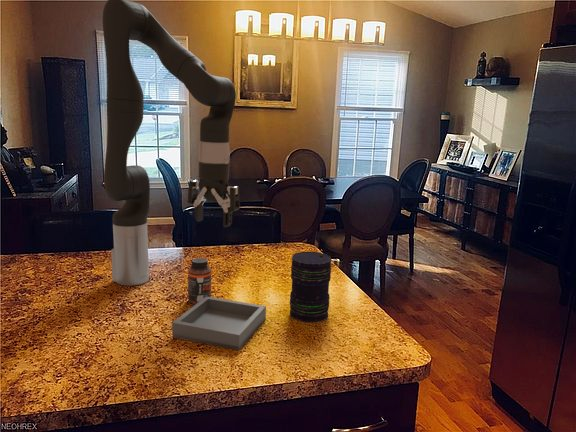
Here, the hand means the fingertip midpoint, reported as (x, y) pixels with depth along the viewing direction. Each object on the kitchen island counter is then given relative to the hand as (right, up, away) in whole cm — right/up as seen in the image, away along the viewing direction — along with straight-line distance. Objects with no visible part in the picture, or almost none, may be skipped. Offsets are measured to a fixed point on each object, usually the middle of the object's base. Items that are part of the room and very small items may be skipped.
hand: (212, 223), depth 119 cm
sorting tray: (+4, -24, -11) cm, 27 cm away
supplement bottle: (-4, -21, +4) cm, 21 cm away
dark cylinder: (+24, -23, -2) cm, 34 cm away
